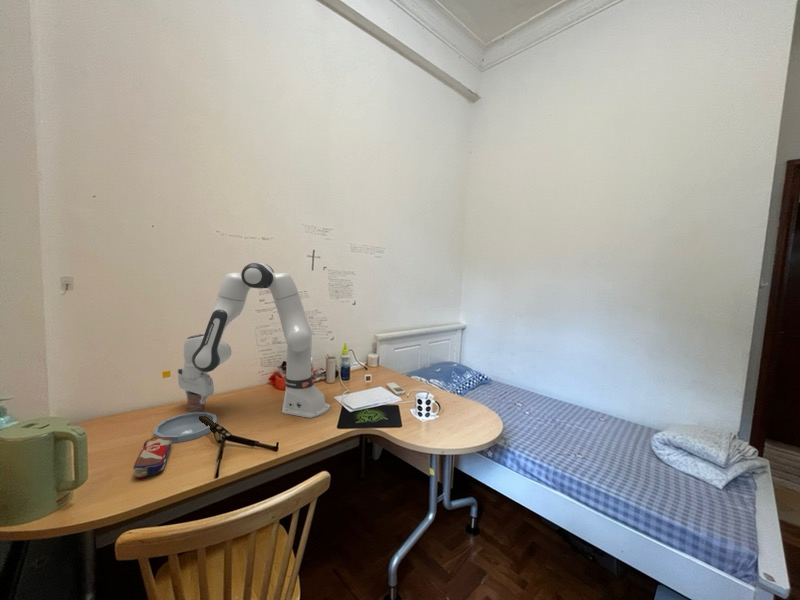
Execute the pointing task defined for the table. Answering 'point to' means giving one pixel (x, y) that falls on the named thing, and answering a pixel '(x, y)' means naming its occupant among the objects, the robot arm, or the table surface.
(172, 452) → the table surface
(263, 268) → the robot arm
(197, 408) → the lighter
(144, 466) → the pencil case
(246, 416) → the table surface
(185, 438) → the dish
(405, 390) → the table surface
